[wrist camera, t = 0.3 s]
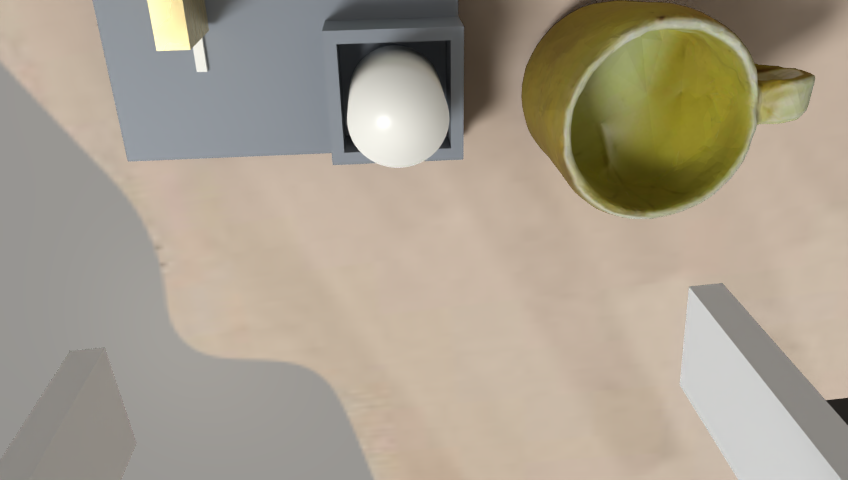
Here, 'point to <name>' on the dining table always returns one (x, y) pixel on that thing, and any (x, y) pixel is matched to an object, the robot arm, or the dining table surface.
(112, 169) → the dining table surface
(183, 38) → the grey and tan piece
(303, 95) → the board
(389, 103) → the button
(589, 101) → the mug
